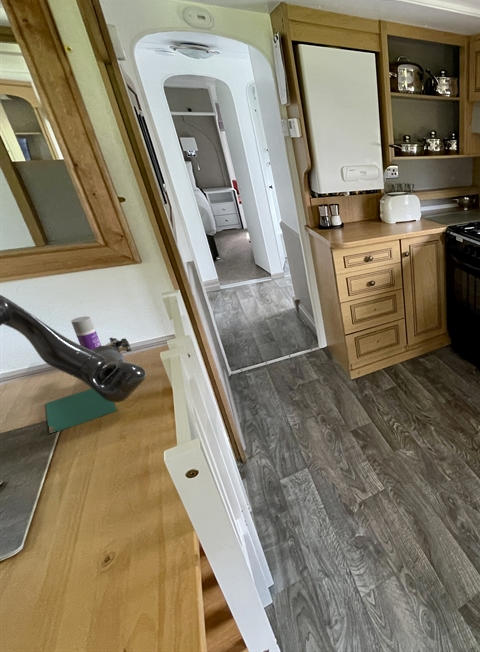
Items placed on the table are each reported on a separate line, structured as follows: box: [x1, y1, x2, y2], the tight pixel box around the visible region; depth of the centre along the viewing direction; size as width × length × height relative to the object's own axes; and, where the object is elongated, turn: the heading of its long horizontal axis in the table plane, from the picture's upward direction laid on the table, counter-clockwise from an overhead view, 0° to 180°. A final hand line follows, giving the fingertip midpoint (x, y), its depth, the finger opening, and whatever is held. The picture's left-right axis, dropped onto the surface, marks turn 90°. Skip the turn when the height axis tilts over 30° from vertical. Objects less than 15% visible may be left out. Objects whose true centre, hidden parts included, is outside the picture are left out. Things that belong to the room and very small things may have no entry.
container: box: [71, 316, 102, 350], centre depth 126 cm, size 5×5×15 cm
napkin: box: [45, 388, 117, 433], centre depth 105 cm, size 18×13×1 cm
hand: (94, 345), depth 120 cm, fingers open, 8 cm apart
